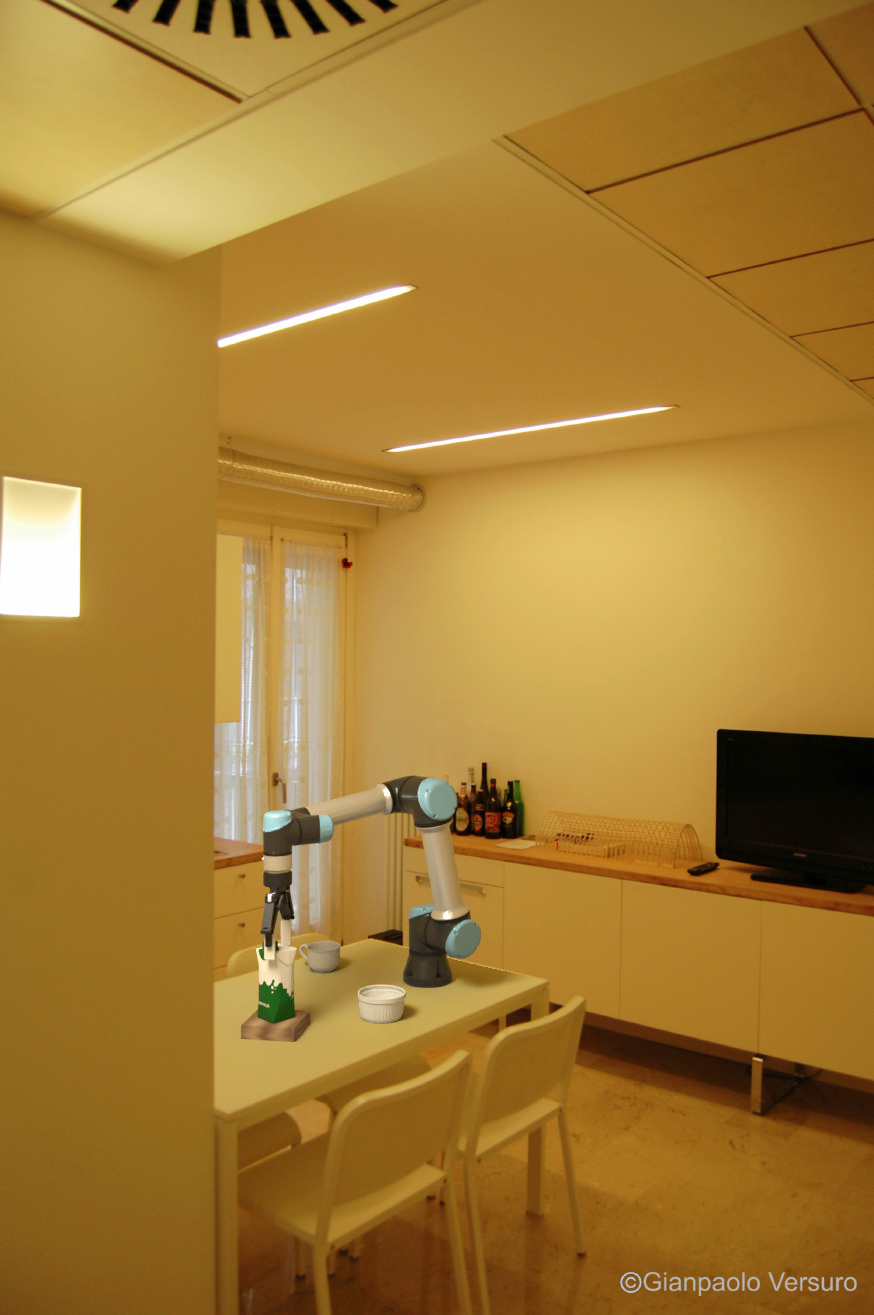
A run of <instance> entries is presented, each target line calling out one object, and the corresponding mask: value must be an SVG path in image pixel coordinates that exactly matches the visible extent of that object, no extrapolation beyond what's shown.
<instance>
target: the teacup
mask: <svg viewBox="0 0 874 1315" xmlns="http://www.w3.org/2000/svg"><path fill="white" fill-rule="evenodd" d="M304 948H305V949H306V953H305V952H304ZM298 950H299V954H300V956H301V957H302V958H303V959H304V960H306V962H307V965H308V967H309V968H310V969H311V970H312V971H313V972H315V973H319V974H323V973H331V972H333V971H335V969H336V968H337V967H338V966H339V965H340V961H341V944H340V943H339V942H337V941H333V940H317V941H313V942H310V943H309V944H308V943H302V944H300V946H299V949H298Z"/></svg>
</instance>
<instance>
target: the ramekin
mask: <svg viewBox="0 0 874 1315" xmlns="http://www.w3.org/2000/svg"><path fill="white" fill-rule="evenodd" d="M406 997H407V992H406V990H405V989H404V988H402V987H400V986H398V985H392V984H391V985H390V984H373V985H372V984H371V985H367V986H364V987H361V988H359V990H358V991H357V999H358V1009H359V1015H360V1017H361V1018H362V1020H364V1021H366V1022H368V1023H371V1024H372V1023H373V1024H390V1022H391V1023H395V1022H397V1021H399V1020H400V1019H401V1018H402V1016H403V1013H404V1009H405V1008H404V1007H405V999H406ZM394 1021H395V1022H394Z"/></svg>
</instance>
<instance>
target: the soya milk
mask: <svg viewBox="0 0 874 1315" xmlns="http://www.w3.org/2000/svg"><path fill="white" fill-rule="evenodd" d="M297 950H298V948H296V947H295V946H291V945H285V944H281V942H279V941H278V940H276V939H275V960H269V959H264V940H263V941H262V944H261V947H258V948H255V951H256V952H255V953H256V958H257V965H258V1003H257V1009H258V1015H257V1017H258V1018H261V1019H263V1020H266V1021H268V1022H270V1023H273V1024H274V1023H277V1022H280V1021H284V1020H287V1019H290V1018H293V1017H295V1010H296V1007H295V961H296V955H297Z"/></svg>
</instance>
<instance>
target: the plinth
mask: <svg viewBox="0 0 874 1315" xmlns="http://www.w3.org/2000/svg"><path fill="white" fill-rule="evenodd" d="M257 1015H258V1008H257V1009H256V1011H254V1012H253V1013H252V1014H251V1015H250V1016H249V1017H248V1018H247V1019H246V1020H245V1021H244V1022H243V1023H241V1025H240V1039H241V1040H254V1041H255V1040H256V1041H271V1042H273V1041H274V1042H289V1043H295V1041H296V1040H297V1039H298V1038H299V1036H300V1035H301V1034H303V1032H304V1031H305V1029H306V1028H307V1027H308V1026H309V1025H310V1023H311V1022H310V1017H311V1016H310V1015H311V1012H310V1010H309V1009H306V1010H305V1009H295V1017H293V1018H290V1019H287V1020H284V1021H280V1022H277V1023H274V1024H273V1023H270V1022H268V1021H266V1020H263V1019H261V1018H258V1017H257Z"/></svg>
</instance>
